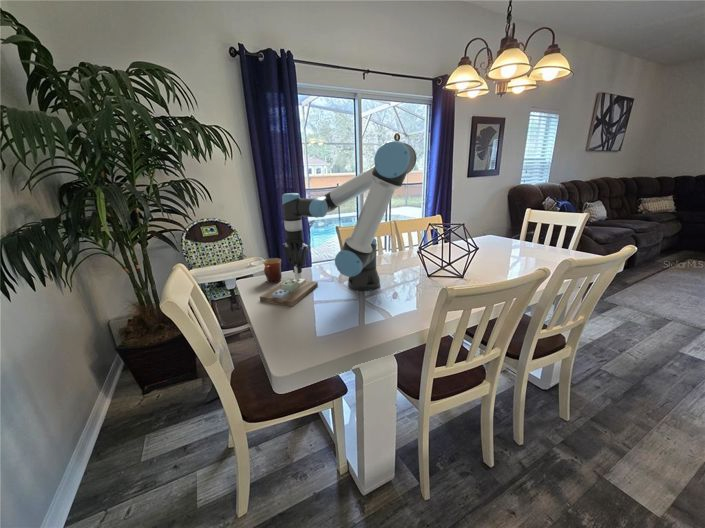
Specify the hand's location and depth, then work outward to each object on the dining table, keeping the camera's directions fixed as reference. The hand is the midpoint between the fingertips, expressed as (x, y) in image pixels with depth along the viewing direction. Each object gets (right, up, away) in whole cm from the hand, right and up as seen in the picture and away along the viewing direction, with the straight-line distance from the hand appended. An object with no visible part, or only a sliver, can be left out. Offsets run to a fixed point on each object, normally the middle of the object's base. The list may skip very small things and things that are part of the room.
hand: (298, 279), depth 134 cm
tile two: (-3, -4, -5) cm, 7 cm away
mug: (-14, -2, +9) cm, 17 cm away
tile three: (-5, -8, -11) cm, 15 cm away
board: (-3, -6, -5) cm, 8 cm away
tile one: (0, -4, +1) cm, 4 cm away
